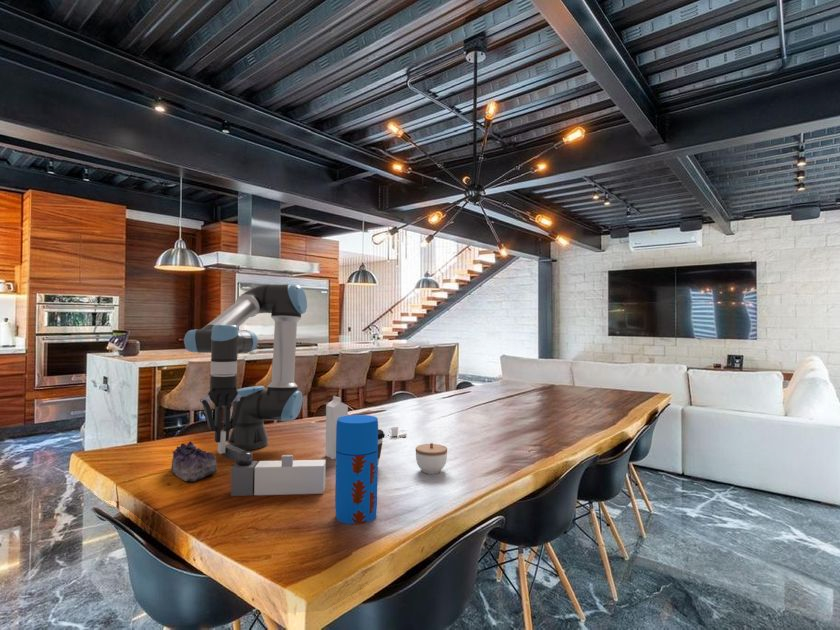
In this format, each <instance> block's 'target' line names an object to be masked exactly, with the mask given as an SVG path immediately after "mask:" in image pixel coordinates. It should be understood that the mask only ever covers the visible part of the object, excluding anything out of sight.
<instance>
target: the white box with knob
mask: <svg viewBox="0 0 840 630" xmlns="http://www.w3.org/2000/svg"><path fill="white" fill-rule="evenodd" d="M326 460H327V459H300V460H299V459H298V460H297V459H296V460H294V455H293V454H282V455H281V460H259V461H258V460H252V464H250V465H238V463H237V462H234V464H233V466H232V467H230V497H241V496H243V497H245V496H246V497H247V496H253V495H254V496H279V495H281V496H282V495H285V496H286V495H311V494H312V495H315V494H318V495H320V494H324V493H325V490H326V489H325V488H326V477H327V476H326V475H327V474H326V471H327V470H326V469H327V467H326V465H327V464H326V462H327V461H326Z"/></svg>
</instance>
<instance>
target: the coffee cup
mask: <svg viewBox="0 0 840 630" xmlns="http://www.w3.org/2000/svg"><path fill="white" fill-rule="evenodd" d="M384 438H386V434H385V433H384V431H383V430H382V429H379V428H378V464H379V463H380V458H381V454H382V447H383V442H384V441H383V439H384Z"/></svg>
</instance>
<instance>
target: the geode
mask: <svg viewBox="0 0 840 630" xmlns="http://www.w3.org/2000/svg"><path fill="white" fill-rule="evenodd" d="M170 472H171V473H173V474H174V475H175V476H176V477H178V479H180V478H181V479H180V480H182V481H185V482H191V483H195V482H196V481H198V480H202V479H203V478H205V477H208V476H210V475H215V474H216V473H218V464H217V458H216V455H215V454H214V453H213V452H209V451H208V452H207V451H206V450H202V449H201V448H199V447H198V448H197V446H196V445H195V444H194V443H193V442H192V441H189V442H188V443H187V444H186V443H181V444H180V446H176V449H175V450H173V451H172V459H171V468H170Z"/></svg>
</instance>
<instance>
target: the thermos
mask: <svg viewBox="0 0 840 630" xmlns="http://www.w3.org/2000/svg"><path fill="white" fill-rule="evenodd" d="M378 429H379V420H378V417H376V416H373V415H367V414H351V415H350V414H348V416H343V417H340V418H338V419H337V425H336V459H335V483H334V484H335V487H334V488H335V489H334V491H335V492H334V493H335V495H334V497H335V501H334V503H335V504H334V506H335V507H334V508H335V519H336V520H337V521H338V522H340V523H342V524H346V525H362V524H366V523H370V522H371V521H374V519H376V517H377V511H378V510H377V509H378V508H377V507H378V478H379V477H378V476H379V475H378V471H379V469H378V468H379V467H378V466H379V463H378Z"/></svg>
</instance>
